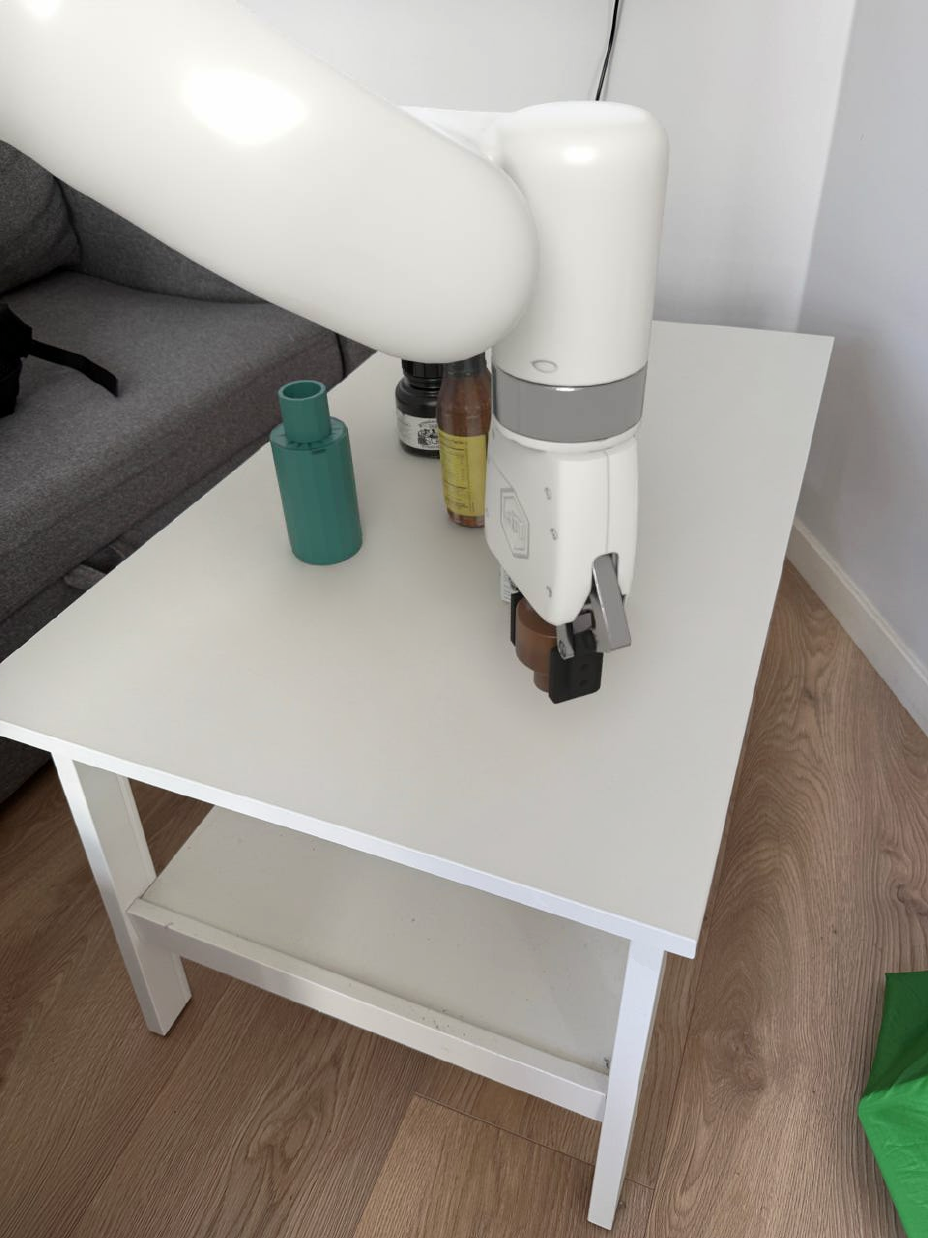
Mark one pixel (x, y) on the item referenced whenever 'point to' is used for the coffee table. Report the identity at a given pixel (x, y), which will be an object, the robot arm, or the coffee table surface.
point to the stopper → (539, 640)
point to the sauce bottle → (464, 437)
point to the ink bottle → (418, 407)
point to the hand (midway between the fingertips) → (553, 664)
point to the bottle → (315, 476)
